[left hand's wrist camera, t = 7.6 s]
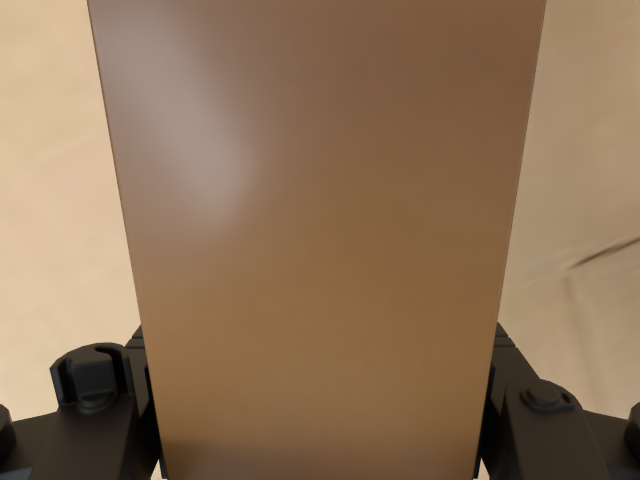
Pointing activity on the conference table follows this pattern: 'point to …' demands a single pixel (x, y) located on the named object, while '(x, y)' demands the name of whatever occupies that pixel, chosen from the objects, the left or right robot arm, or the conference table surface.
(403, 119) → the bar
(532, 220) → the conference table surface
